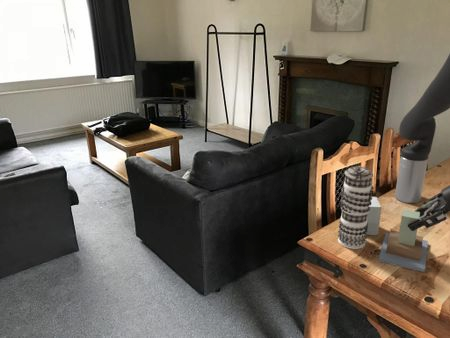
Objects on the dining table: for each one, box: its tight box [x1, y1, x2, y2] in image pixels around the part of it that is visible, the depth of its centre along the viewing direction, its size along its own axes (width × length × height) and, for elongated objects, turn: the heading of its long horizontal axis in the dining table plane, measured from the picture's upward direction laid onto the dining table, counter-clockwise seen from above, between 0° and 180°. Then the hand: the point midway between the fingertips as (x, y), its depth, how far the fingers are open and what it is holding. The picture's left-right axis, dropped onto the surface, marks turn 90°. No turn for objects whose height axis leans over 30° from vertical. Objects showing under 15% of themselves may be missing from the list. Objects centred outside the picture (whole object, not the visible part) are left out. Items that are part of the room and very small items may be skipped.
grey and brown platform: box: [378, 229, 428, 273], centre depth 109 cm, size 16×12×4 cm
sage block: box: [397, 209, 420, 246], centre depth 107 cm, size 4×4×9 cm
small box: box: [366, 196, 382, 236], centre depth 121 cm, size 8×6×10 cm
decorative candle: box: [337, 165, 374, 250], centre depth 112 cm, size 9×9×25 cm
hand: (410, 222), depth 106 cm, fingers open, 6 cm apart
